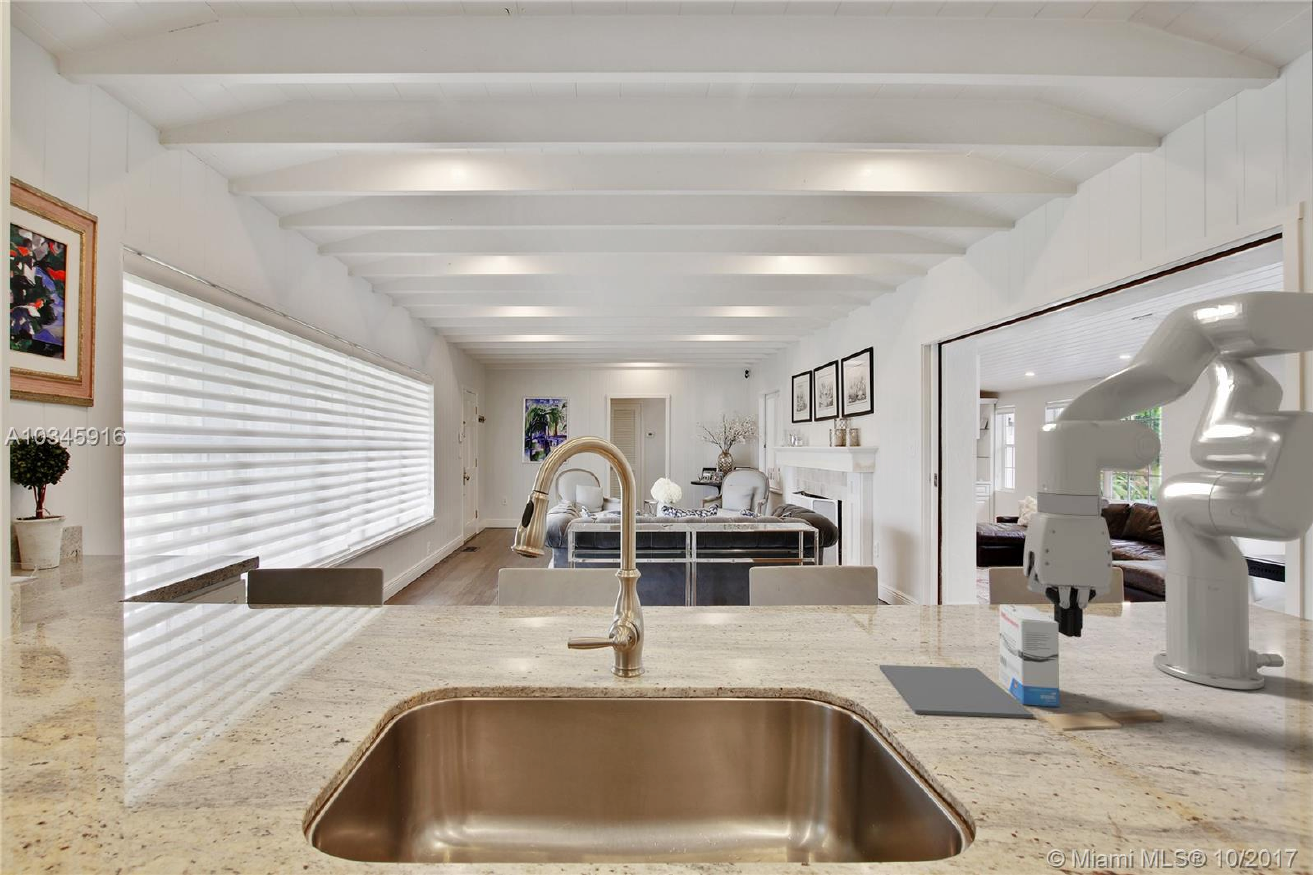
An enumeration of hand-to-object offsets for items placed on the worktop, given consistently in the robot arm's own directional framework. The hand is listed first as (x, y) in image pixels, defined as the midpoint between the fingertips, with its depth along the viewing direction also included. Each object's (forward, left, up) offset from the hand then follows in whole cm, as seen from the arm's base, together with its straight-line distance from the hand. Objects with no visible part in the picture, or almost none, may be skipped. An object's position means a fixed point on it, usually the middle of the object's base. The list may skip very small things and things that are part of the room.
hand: (1068, 633), depth 84 cm
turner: (+1, +8, -9) cm, 12 cm away
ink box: (+6, 0, -9) cm, 11 cm away
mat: (+17, 0, -9) cm, 19 cm away
